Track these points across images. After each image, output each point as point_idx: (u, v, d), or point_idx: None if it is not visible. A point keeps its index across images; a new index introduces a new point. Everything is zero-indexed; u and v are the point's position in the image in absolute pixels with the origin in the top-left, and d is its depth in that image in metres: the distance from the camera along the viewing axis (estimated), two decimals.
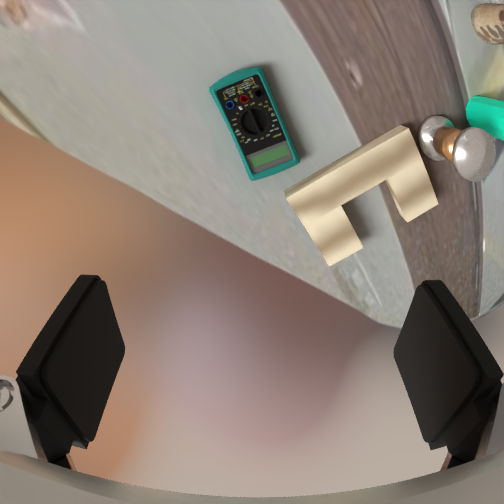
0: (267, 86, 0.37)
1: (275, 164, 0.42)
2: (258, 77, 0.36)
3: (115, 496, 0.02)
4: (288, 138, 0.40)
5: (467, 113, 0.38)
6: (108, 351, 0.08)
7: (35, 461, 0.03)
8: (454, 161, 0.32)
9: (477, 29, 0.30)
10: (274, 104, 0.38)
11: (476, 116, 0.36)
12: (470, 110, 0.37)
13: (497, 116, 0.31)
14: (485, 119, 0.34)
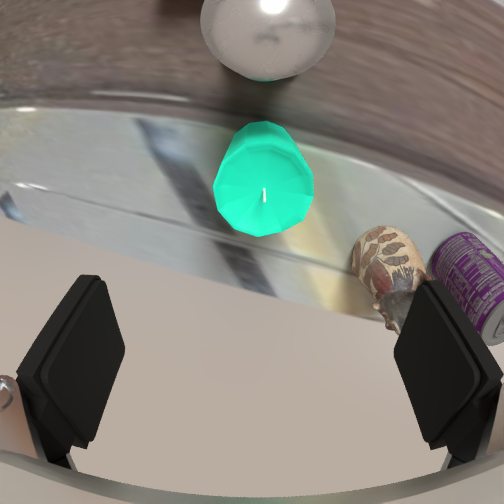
0: None
1: None
2: None
3: (115, 496, 0.02)
4: None
5: (275, 124, 0.26)
6: (108, 351, 0.08)
7: (35, 461, 0.03)
8: None
9: (390, 228, 0.30)
10: None
11: (276, 128, 0.24)
12: (283, 129, 0.25)
13: (293, 145, 0.19)
14: (277, 132, 0.22)
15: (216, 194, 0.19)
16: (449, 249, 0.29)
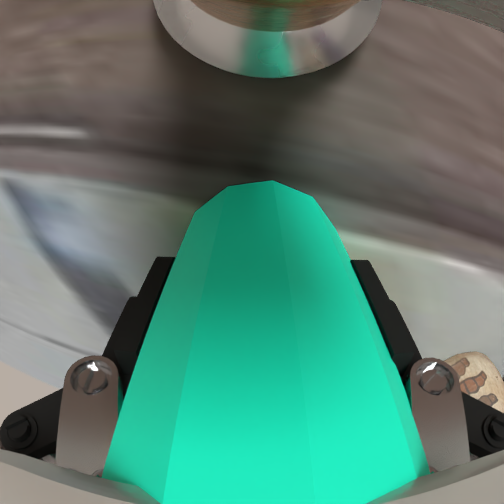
0: None
1: None
2: None
3: (115, 497, 0.02)
4: None
5: (295, 192, 0.11)
6: None
7: (35, 461, 0.03)
8: None
9: (474, 361, 0.15)
10: None
11: (303, 222, 0.09)
12: (317, 209, 0.10)
13: (392, 392, 0.04)
14: (315, 269, 0.06)
15: None
16: None
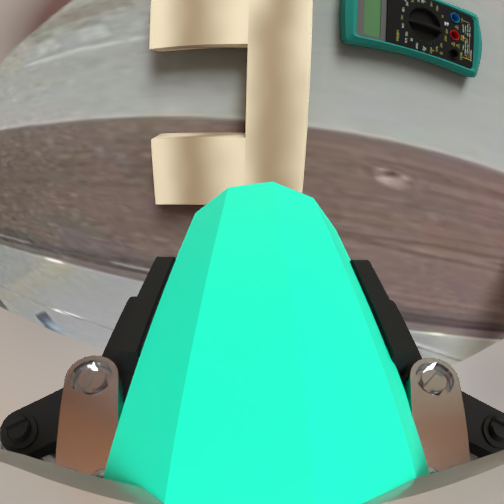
0: (455, 67, 0.22)
1: (358, 9, 0.20)
2: (468, 66, 0.21)
3: (115, 496, 0.02)
4: (387, 45, 0.21)
5: (295, 193, 0.11)
6: None
7: (35, 461, 0.03)
8: None
9: None
10: (434, 59, 0.22)
11: (303, 224, 0.09)
12: (318, 211, 0.10)
13: (393, 396, 0.04)
14: (316, 272, 0.06)
15: None
16: None
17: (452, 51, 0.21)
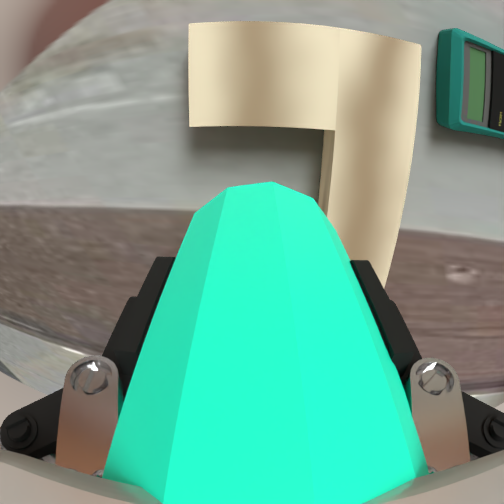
0: None
1: (463, 84, 0.15)
2: None
3: (115, 496, 0.02)
4: (490, 133, 0.17)
5: (295, 193, 0.11)
6: None
7: (35, 461, 0.03)
8: None
9: None
10: None
11: (303, 224, 0.09)
12: (318, 211, 0.10)
13: (393, 397, 0.04)
14: (315, 272, 0.06)
15: None
16: None
17: None
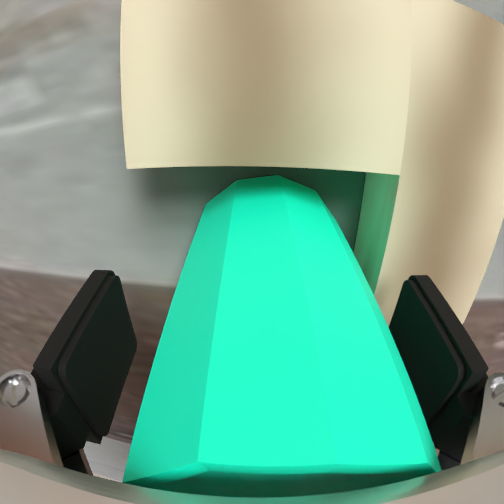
0: None
1: None
2: None
3: (115, 496, 0.02)
4: None
5: (299, 185, 0.12)
6: (121, 346, 0.09)
7: (35, 461, 0.03)
8: None
9: None
10: None
11: (308, 211, 0.09)
12: (320, 201, 0.11)
13: (390, 352, 0.05)
14: (320, 251, 0.07)
15: None
16: None
17: None
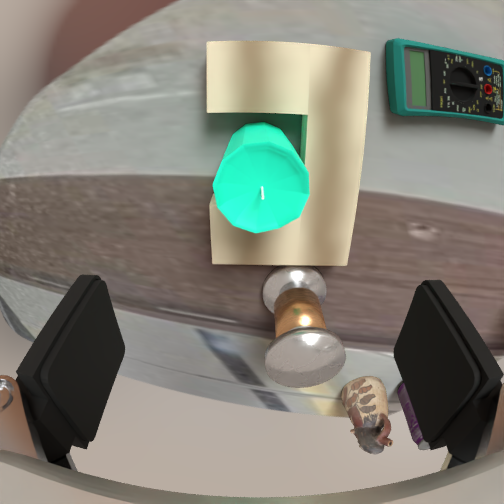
0: (489, 120, 0.24)
1: (406, 80, 0.23)
2: (499, 117, 0.23)
3: (115, 496, 0.02)
4: (433, 113, 0.24)
5: (272, 125, 0.27)
6: (108, 351, 0.08)
7: (35, 461, 0.03)
8: (317, 330, 0.25)
9: (368, 380, 0.43)
10: (472, 117, 0.24)
11: (273, 129, 0.25)
12: (280, 130, 0.26)
13: (290, 145, 0.20)
14: (274, 133, 0.23)
15: (216, 192, 0.19)
16: None
17: (485, 104, 0.23)
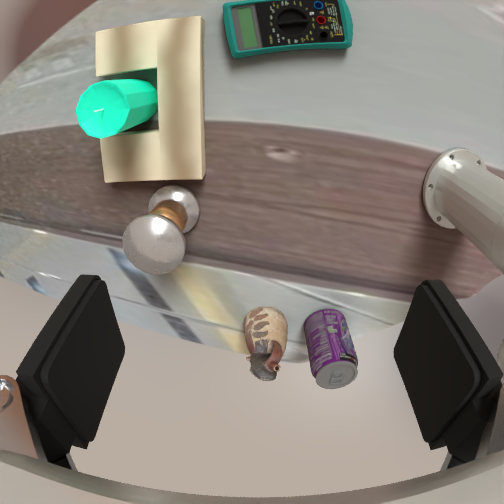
0: (328, 45, 0.31)
1: (236, 31, 0.30)
2: (340, 40, 0.30)
3: (115, 496, 0.02)
4: (264, 50, 0.31)
5: (143, 80, 0.34)
6: (108, 351, 0.08)
7: (35, 461, 0.03)
8: (155, 215, 0.32)
9: (265, 309, 0.50)
10: (307, 46, 0.31)
11: (135, 80, 0.32)
12: (146, 82, 0.33)
13: (125, 83, 0.28)
14: (128, 80, 0.30)
15: (77, 115, 0.27)
16: (310, 322, 0.50)
17: (324, 33, 0.30)
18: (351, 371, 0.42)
